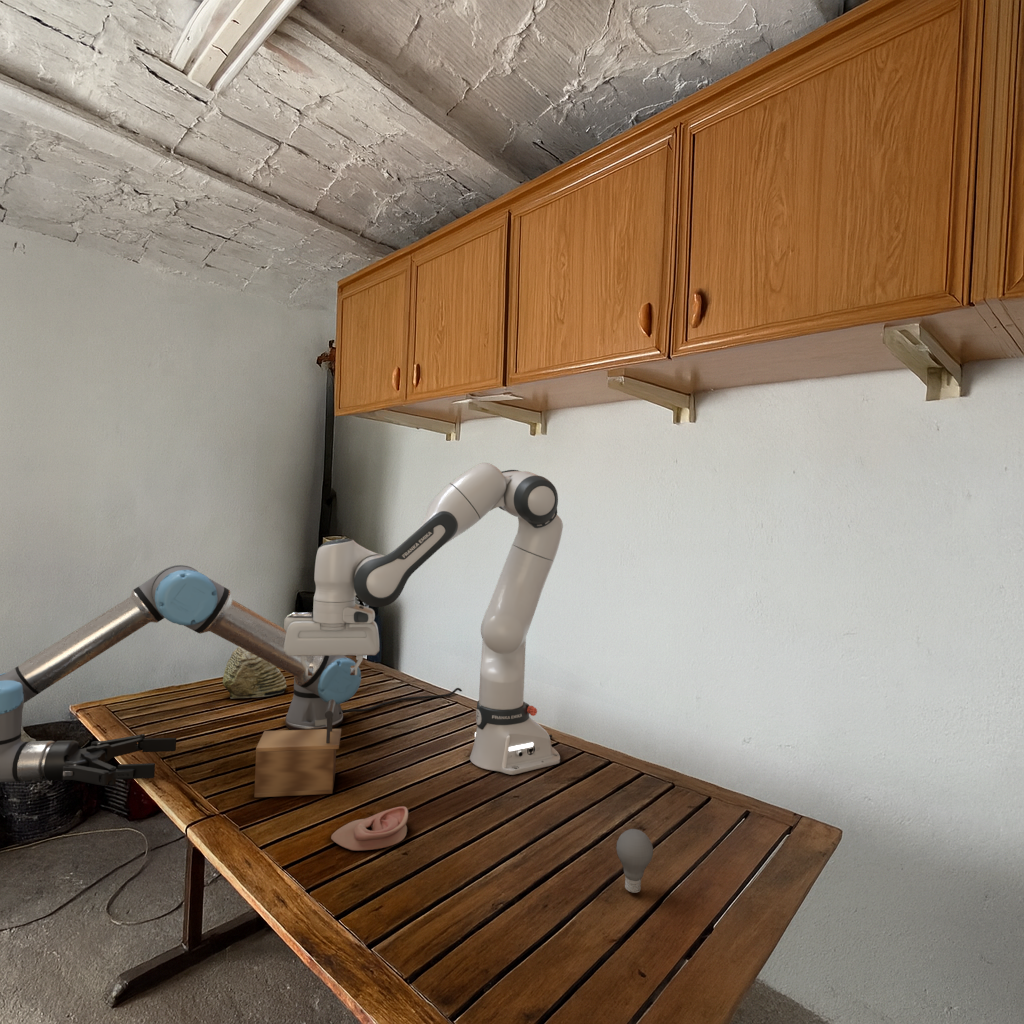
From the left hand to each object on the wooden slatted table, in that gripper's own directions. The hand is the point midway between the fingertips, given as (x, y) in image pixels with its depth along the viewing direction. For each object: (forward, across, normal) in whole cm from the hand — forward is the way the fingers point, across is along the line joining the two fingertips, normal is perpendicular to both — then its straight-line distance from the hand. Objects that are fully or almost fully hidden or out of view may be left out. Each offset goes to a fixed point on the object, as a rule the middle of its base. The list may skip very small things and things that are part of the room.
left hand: (165, 756), depth 133 cm
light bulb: (+86, +46, -7) cm, 97 cm away
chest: (+26, 0, -7) cm, 27 cm away
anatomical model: (+42, +23, -7) cm, 49 cm away
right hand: (+33, 0, +17) cm, 37 cm away
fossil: (+6, -65, -7) cm, 66 cm away
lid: (+27, 0, +2) cm, 27 cm away
